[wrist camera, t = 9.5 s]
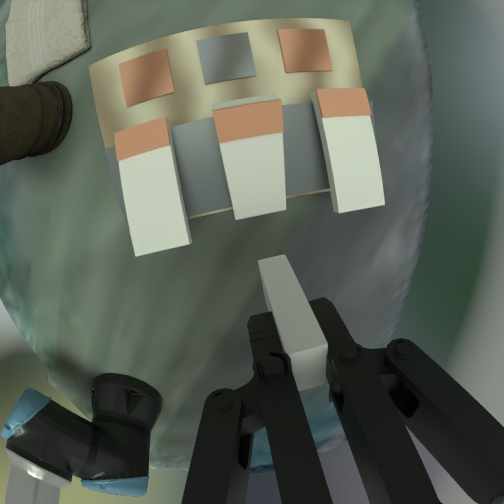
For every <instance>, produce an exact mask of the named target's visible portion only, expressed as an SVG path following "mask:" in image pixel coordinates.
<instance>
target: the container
mask: <svg viewBox="0 0 504 504" xmlns="http://www.w3.org/2000/svg"><path fill="white" fill-rule="evenodd" d="M71 113H72V107H71V99H70V96H69V93H68V91H67V90H66V88H65V87H64V86H63V85H61V84H60V83H58V82H55V81H46V82H38V83H35V84H24V85H21V86H4V87H0V165H3V164H5V163H7V162H10V161H12V160H20V159H23V158H25V157H26V156H27V157H35V156H38V155H43V154H46V153H48V152H50V151H51V150H53V149H54V148H55V147H56V146H57V145H58V144H59V143H60V142H61V141H62V139H63V138H64V136H65V134H66V132H67V130H68V127H69V124H70V120H71Z"/></svg>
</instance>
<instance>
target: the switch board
mask: <svg viewBox="0 0 504 504" xmlns="http://www.w3.org/2000/svg"><path fill="white" fill-rule="evenodd" d="M89 72H90V78H91V84H92V90H93V95H94V100H95V105H96V110H97V115H98V120H99V124H100V128H101V133H102V137H103V141H104V145H105V148H109V147H111V146H114V145H115V138H114V133H116V132H119V131H122V130H124V129H127V128H130V127H133V126H136V125H139V124H142V123H145V122H148V121H151V120H155V119H158V118H161V117H165V116H166V118H167V119H168V121H169V122H170V126H171V127H173V126H177V125H181V124H185V123H189V122H193V121H197V120H201V119H205V118H210V117H213V112H212V106H211V104H216V103H221V102H226V101H232V100H237V99H243V98H249V97H256V96H263V95H271V94H276V95H277V96H278V97H279V98H280V99H281V100H282V105H290V104H300V103H312V98H311V94H312V93H313V92H314V91H315V90H316V89H329V88H362V83H361V77H360V71H359V65H358V59H357V54H356V49H355V44H354V40H353V35H352V31H351V27H350V23H349V21H345V20H333V19H314V18H283V19H264V20H252V21H243V22H235V23H227V24H221V25H215V26H209V27H204V28H199V29H194V30H190V31H186V32H182V33H178V34H174V35H170V36H166V37H163V38H159V39H156V40H153V41H150V42H147V43H143V44H141V45H138V46H135V47H132V48H129V49H127V50H124V51H121V52H119V53H116V54H114V55H111V56H109V57H107V58H104V59H102V60H100V61H98V62H95V63H93V64H91V65H89ZM326 191H330V189H325V190H319V191H313V192H307V193H301V194H296V195H290V196H286V198H292V197H297V196H303V195H308V194H314V193H320V192H326ZM231 209H233V207H230V208H225V209H221V210H216V211H212V212H207V213H203V214H199V215H194V216H190V217H187V219H191V218H196V217H200V216H204V215H209V214H213V213H218V212H222V211H227V210H231Z"/></svg>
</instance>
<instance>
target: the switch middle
mask: <svg viewBox="0 0 504 504" xmlns="http://www.w3.org/2000/svg"><path fill="white" fill-rule="evenodd" d="M211 106H212V112H213V117H214V121H215V126H216V131H217V136H218V140H219V145H220V150H221V154H222V159H223V164H224V168H225V173H226V178H227V182H228V187H229V191H230V196H231V201H232V205H233V210H234V214H235V219H236V220H238V219H243V218H248V217H253V216H258V215H263V214H268V213H273V212H278V211H283V210H286V191H285V168H284V148H283V132H284V130H283V114H282V100H281V99H280V98H279V97H278V96H277V95H276V94H271V95H263V96H256V97H249V98H243V99H237V100H232V101H226V102H221V103H216V104H211Z"/></svg>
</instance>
